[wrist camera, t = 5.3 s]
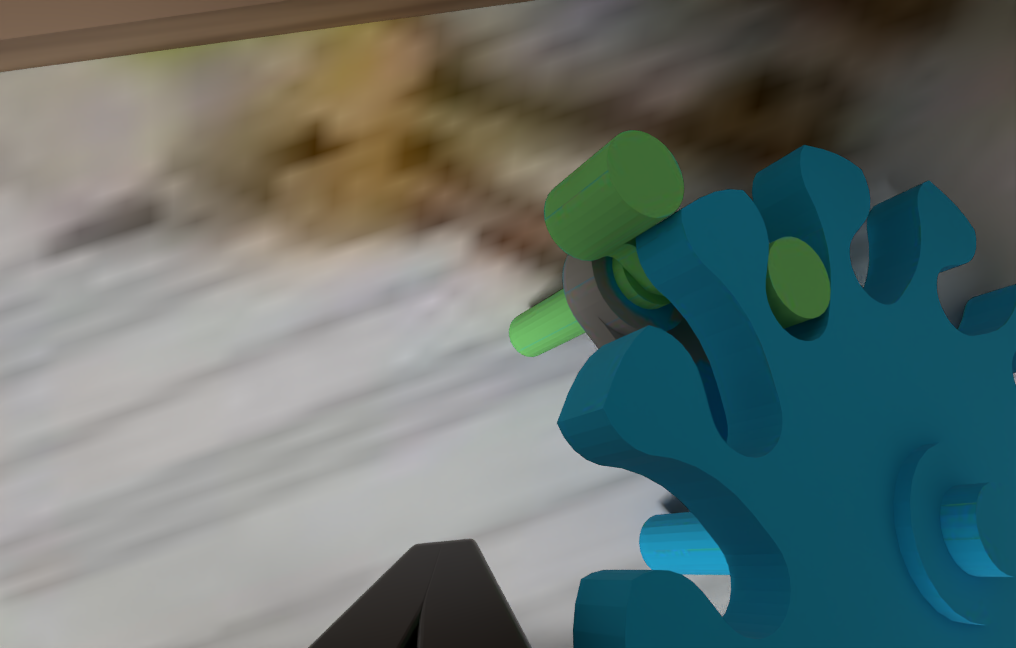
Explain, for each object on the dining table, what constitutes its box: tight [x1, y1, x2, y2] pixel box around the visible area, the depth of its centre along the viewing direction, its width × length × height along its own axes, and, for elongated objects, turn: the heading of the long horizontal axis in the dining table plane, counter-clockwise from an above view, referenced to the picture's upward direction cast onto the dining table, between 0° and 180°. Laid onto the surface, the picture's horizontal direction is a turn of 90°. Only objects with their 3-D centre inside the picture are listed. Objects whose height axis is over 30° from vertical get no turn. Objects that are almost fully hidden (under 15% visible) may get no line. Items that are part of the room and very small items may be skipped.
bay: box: [0, 0, 533, 72], centre depth 11 cm, size 16×28×3 cm, turn 97°
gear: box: [509, 130, 1016, 648], centre depth 11 cm, size 11×6×10 cm
